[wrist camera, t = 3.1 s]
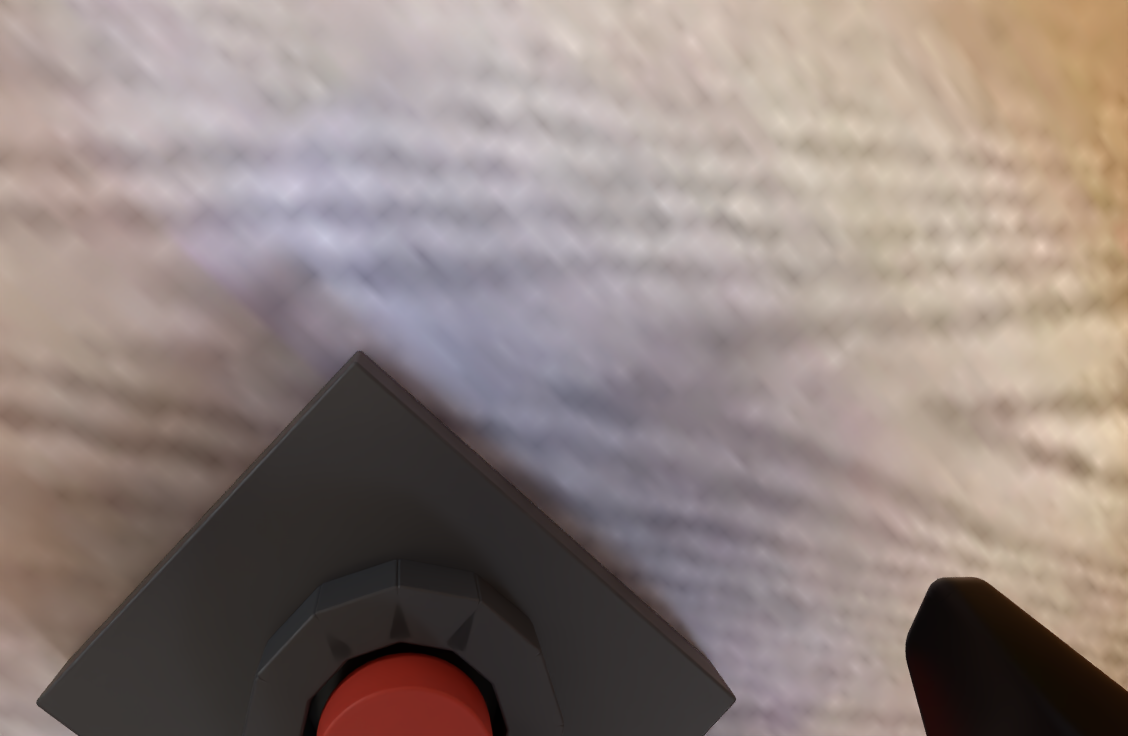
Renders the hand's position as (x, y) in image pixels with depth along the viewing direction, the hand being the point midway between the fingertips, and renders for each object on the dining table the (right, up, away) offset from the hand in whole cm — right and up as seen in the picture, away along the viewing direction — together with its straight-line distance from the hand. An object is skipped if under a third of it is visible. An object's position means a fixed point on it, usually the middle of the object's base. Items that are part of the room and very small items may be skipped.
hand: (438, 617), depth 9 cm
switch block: (-3, -5, +16) cm, 17 cm away
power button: (-2, -6, +13) cm, 14 cm away
